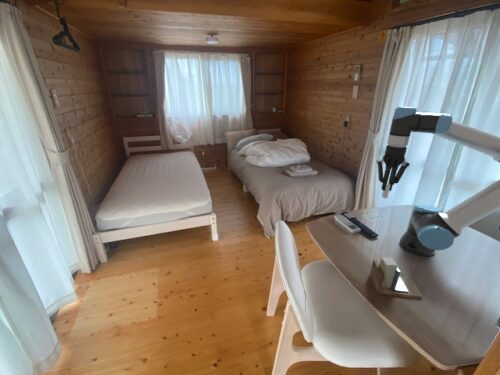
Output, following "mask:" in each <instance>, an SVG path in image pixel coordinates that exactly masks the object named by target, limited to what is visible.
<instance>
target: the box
mask: <svg viewBox="0 0 500 375" xmlns="http://www.w3.org/2000/svg"><path fill="white" fill-rule="evenodd" d="M378 264H379V266H380V268H381V270H382V272H383V274H384V276H385V278H384V281H383V285H382V287H385V288H391V286H392V283H393V280H394V277H395V273H396V270H397V267H398V264H397V263H396V261H395V260H394V259H393V257H385V256H383V257H382V256H381V258H380V260H379V263H378Z"/></svg>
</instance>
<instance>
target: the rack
mask: <svg viewBox="0 0 500 375" xmlns="http://www.w3.org/2000/svg"><path fill="white" fill-rule="evenodd" d="M379 264H380V263H379V262H378V260H377V259H373V262H372V265H371V268H370V272H369V278H370V279H371V282H372V284H373V287H374V289H375V292H376V293H377V294H380V295H381V294H383V295H390V296H397V297H405V298H412V299H418V300H422V299H423V295H422V294H421V292H420V290H419V289H418V288H417V286H416V284H415V283H414V281H413V280H412V278H409V277H403V276H400V277H401V279H402V281H403V282H404V284H405V286H406V288H407V289H408V291H409V293H408V292H401V291H393V290H392V288H385V287H382V285H383V281H384V278H385V276H384V274H383V272H382V270H381V268H380V266H379Z"/></svg>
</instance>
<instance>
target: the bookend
mask: <svg viewBox="0 0 500 375" xmlns="http://www.w3.org/2000/svg"><path fill="white" fill-rule="evenodd" d="M400 275H401V270H400V268H398V267H397V270H396V273H395V277H394V280H393V283H392V286H391V288H392V290H393V291H401V292H408V293H409V291H408V289H407V288H406V286H405V284H404V282H403V281H402V279H401V277H402V276H400Z"/></svg>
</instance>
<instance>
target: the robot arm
mask: <svg viewBox="0 0 500 375" xmlns="http://www.w3.org/2000/svg"><path fill="white" fill-rule="evenodd" d="M417 109H418V108H417V107H413V106H397V107H396V108H395V109H394V113H393V117H392V118H391V119H392V120H391V124H390V128H389V129H390V130H389V134H388V136H387V137H388V138H387V142H386V143H387V145H386V146H385V151H384V155H383V157H382V158H381V159H377V160H376V164H377V172H378V181H379V182H380V183H381V184H382V185H381V190H382V194H381V197H382V198H383V199H388V197H389V192H392V188H393V186H394V185H395V184H397V185H398V183H399V182H400V181H401V179H402V177H403V174H404V172H405V171H406V170H407V168H408V167H409V166H411V165H410V162H408V161H406V154H407V149H408V148H407V146H408V145H409V141H410V138H411V134H412V133H422V134H423V133H425V134H431V135H435V136H437V137H440V138H442V139H444V140H448V141H451V142H453V143H455V144H457V145H461V146H463V147H466V148H469V149H472V150H473V151H476V152H480V153H482V154H483V155H486V156H490V157H491V158H492V159H493V161H495V162H498V163H500V136H498V135H494V134H491V133H488V132H486V131H483V130H480V129H478V128H475V127H472V126H469V125H467V124H464V123H460V122H458V121H455V120H454V119H453V116H452V114H451V113H450V114H449V113H437V112H430V111H425V110H424V111H419V112H417ZM383 164H385V169H384V167H383V166H384V165H383ZM498 210H500V179H498V180H496V181H494V182H493V183H491V184H490V185H488V186H487V187H485V188H483V189H481V190H480V191H478V192H477V193H475V194H474V195H471V196H469V197H468V198H467V199H465V200H464V201H461V202H460V203H459V204H456V205H455V206H453V207H452V208H450V209H448V210H447V211H445V212H444V210H443V209H442V208H440V207H436V206H433V205H430V204H415V206H413V209H412V213H411V216H410V219H409V222H408V225H407V226H408V227H407V229H406V231H405V232H404V233H403V235H401V237H400V239H399V245H400V246H401V248H402V249H404V250H405V251H406V252H409V253H411V254H413V255H416V256H421V257H432V256H434V254H435V253H436V251H443V250H444V251H445V250H448V249H449V248H450V247H452V246H453V244H454V242H455V238H457V237H459V236H461V235H462V231H463V229H465V228H467V227H469V226H470V225H472V224H474V223H476V222H478V221H480V220H481V219H483V218H485V217H487V216H489V215H491V214H492V213H495V212H496V211H498Z"/></svg>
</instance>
